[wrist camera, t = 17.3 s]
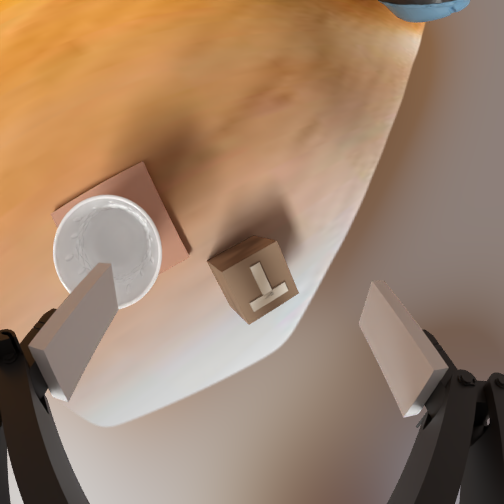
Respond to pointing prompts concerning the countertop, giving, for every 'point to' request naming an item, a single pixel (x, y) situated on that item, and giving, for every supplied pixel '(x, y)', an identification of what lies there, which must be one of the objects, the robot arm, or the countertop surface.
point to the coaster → (146, 196)
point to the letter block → (254, 277)
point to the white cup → (109, 245)
